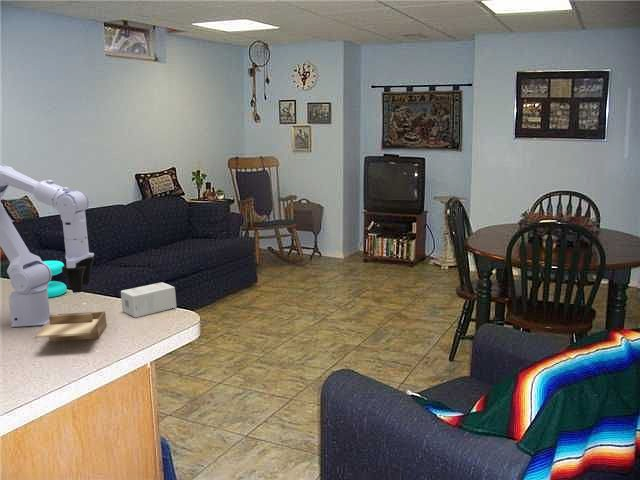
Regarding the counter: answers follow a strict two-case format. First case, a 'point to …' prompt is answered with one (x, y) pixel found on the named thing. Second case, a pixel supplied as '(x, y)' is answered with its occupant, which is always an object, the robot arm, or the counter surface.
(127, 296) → the small box
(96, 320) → the lid
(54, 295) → the donuts
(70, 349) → the counter surface
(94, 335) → the wooden box
